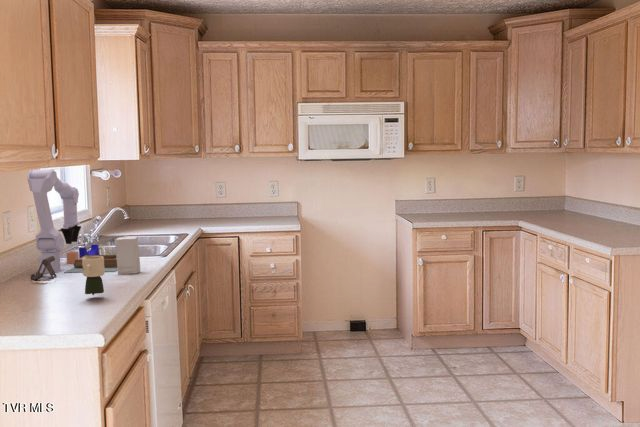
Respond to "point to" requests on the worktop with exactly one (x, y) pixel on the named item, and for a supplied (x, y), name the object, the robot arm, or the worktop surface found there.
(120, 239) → the skincare box
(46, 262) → the portable electronic device stand
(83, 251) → the cable clip
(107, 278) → the worktop surface
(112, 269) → the dock mat
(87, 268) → the character mug
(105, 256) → the brown wooden tray
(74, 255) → the part block
